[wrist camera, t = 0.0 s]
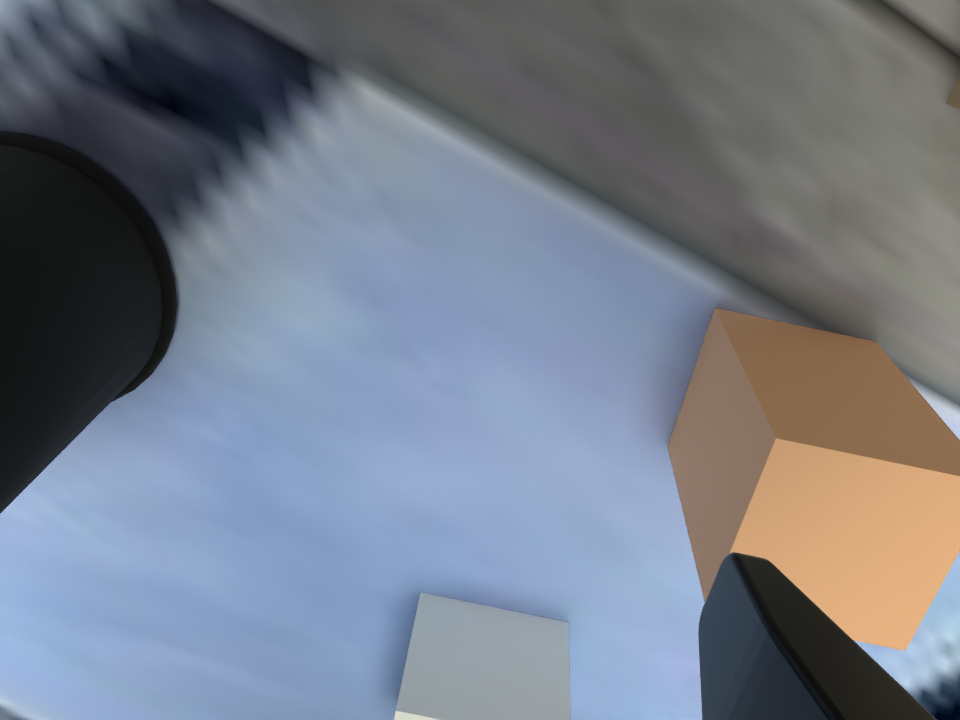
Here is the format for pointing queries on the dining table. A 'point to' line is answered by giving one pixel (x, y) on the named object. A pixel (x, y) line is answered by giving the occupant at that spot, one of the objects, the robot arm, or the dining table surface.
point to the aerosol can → (70, 301)
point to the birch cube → (955, 94)
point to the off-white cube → (484, 664)
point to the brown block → (818, 472)
